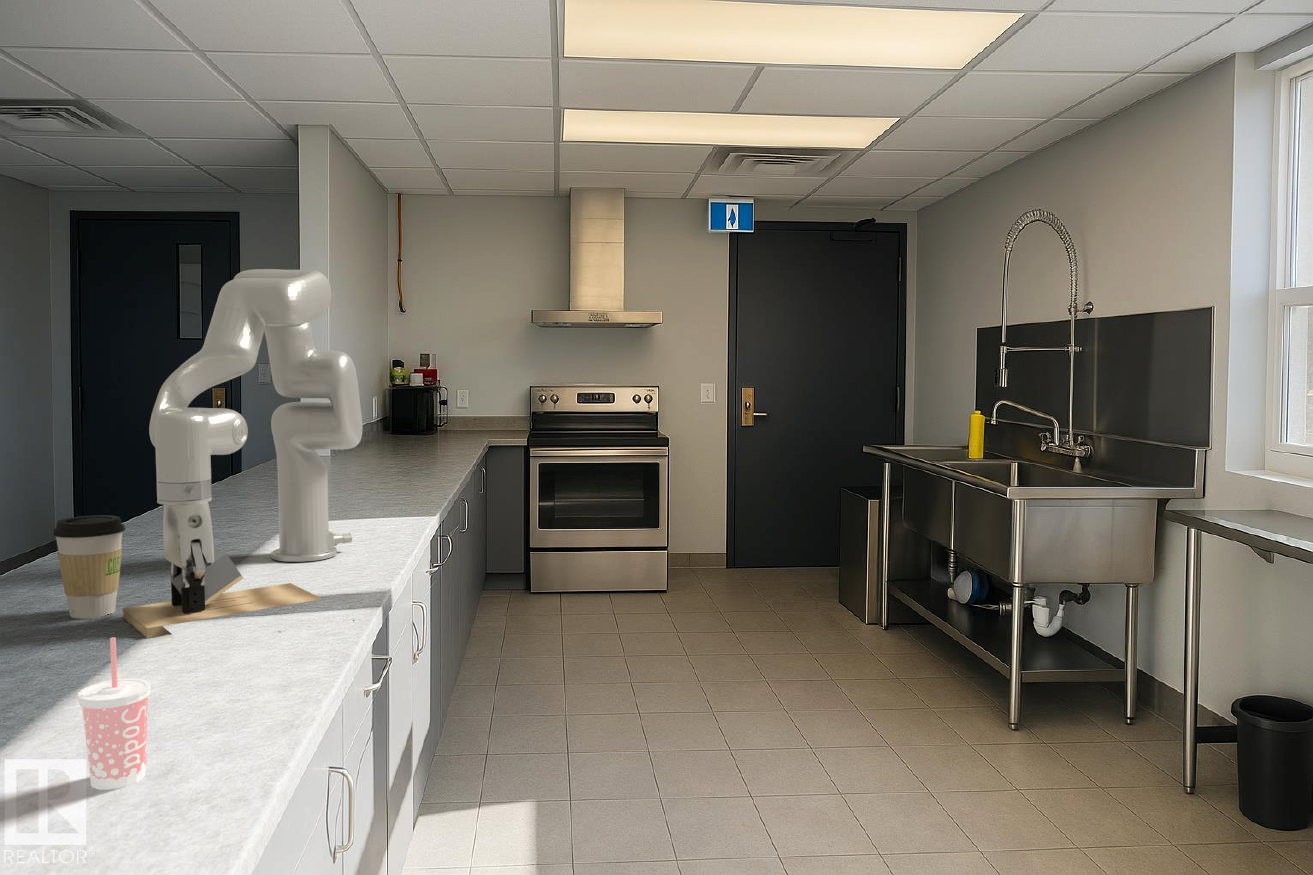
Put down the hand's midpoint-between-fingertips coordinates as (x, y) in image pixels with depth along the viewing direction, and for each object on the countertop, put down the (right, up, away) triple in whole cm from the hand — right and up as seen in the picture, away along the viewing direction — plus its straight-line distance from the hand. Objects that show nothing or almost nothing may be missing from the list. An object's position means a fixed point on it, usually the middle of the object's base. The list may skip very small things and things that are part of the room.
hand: (188, 606), depth 146 cm
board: (+4, -2, +4) cm, 6 cm away
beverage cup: (+21, -7, -55) cm, 59 cm away
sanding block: (+3, +2, +3) cm, 5 cm away
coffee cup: (-17, -2, +3) cm, 17 cm away
